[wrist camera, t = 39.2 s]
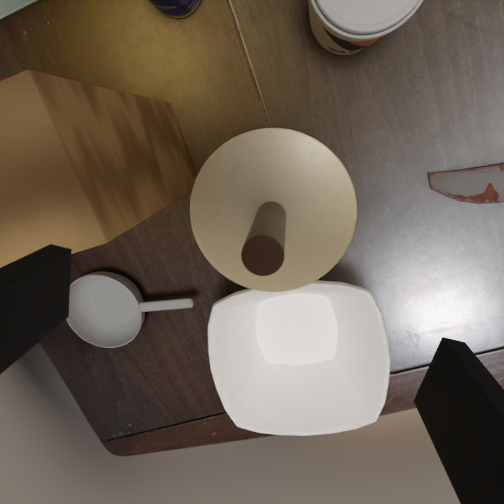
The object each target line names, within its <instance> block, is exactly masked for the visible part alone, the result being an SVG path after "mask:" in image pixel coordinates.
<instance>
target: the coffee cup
mask: <svg viewBox="0 0 504 504" xmlns="http://www.w3.org/2000/svg"><path fill="white" fill-rule="evenodd" d="M308 2H309V17H310V24H311V29H312V32H313V34H314V36H315V38H316V40H317V41H318V43H319V44H320V45H321V46H322V47H323V48H324V49H326V50H327V51H329V52H331V53H334V54H338V55H349V54H353V53H356V52H359V51H361V50H363V49H365V48H366V47H368V46H369V45H371V44H372V43H374V42H375V41H377V40H379V39H380V38H381V37H383V36H384V35H386V34H388V33H390V32H392V31H393V30H395V29H397V28H398V27H400V26H401V25H402V24H404V23H405V22H406V21H407V20H408V19H409V18H410V17H411V16H412V15H413V14H414V13H415V11H416V10H417V9H418V8H419V6H420V5H421V3H422V2H423V0H308Z"/></svg>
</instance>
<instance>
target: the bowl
mask: <svg viewBox="0 0 504 504" xmlns="http://www.w3.org/2000/svg"><path fill="white" fill-rule="evenodd" d="M208 352H209V360H210V368H211V372H212V376H213V379H214V382H215V386H216V389H217V392H218V394H219V396H220V399H221V401H222V404H223V406H224V409H225V410H226V412H227V413H228V415H229V416H230V418H231V419H232V420H233V422H234V423H235V425H236V426H237V427H240V428H243V429H247V430H251V431H254V432H258V433H266V434H275V435H301V436H307V435H319V434H329V433H337V432H343V431H348V430H353V429H357V428H360V427H362V426H365V425H368V424H371V423H374V422H375V421H376V420H377V419H378V417H379V414H380V412H381V410H382V408H383V406H384V404H385V401H386V395H387V390H388V384H389V374H390V351H389V343H388V336H387V332H386V327H385V323H384V319H383V315H382V312H381V310H380V308H379V306H378V304H377V302H376V300H375V298H374V297H373V295H372V293H371V292H370V291H369V290H368V289H366V288H363V287H359V286H355V285H352V284H348V283H344V282H335V281H321V280H316V281H314V282H312V283H310V284H308V285H306V286H304V287H300V288H297V289H294V290H289V291H281V292H265V291H259V290H253V289H250V288H248V289H244V290H241V291H237V292H234V293H232V294H230V295H228V296H226V297H224V298H222V299H220V300H218V301H217V302H215V303H214V304H213V306H212V310H211V314H210V318H209V322H208Z"/></svg>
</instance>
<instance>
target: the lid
mask: <svg viewBox="0 0 504 504" xmlns="http://www.w3.org/2000/svg"><path fill="white" fill-rule="evenodd" d="M356 218H357V201H356V195H355V190H354V187H353V184H352V181H351V179H350V176H349V174H348V172H347V170H346V169H345V167H344V166H343V164H342V163H341V161H340V160H339V159H338V158H337V156H336V155H335V154H334V153H333V152H332V151H331V150H330V149H329V148H327V147H326V146H325V145H324V144H322V143H321V142H319V141H318V140H316V139H315V138H313V137H311V136H308V135H306V134H304V133H301V132H298V131H294V130H291V129H284V128H262V129H255V130H252V131H248V132H245V133H242V134H240V135H238V136H235V137H233V138H232V139H230V140H228V141H227V142H225V143H224V144H223V145H221V146H220V147H219V148H218V149H216V150H215V151H214V152H213V153H212V155H211V156H210V157H209V158H208V159H207V160H206V162H205V163H204V165H203V166H202V168H201V169H200V171H199V173H198V175H197V177H196V180H195V183H194V185H193V189H192V193H191V199H190V220H191V226H192V230H193V233H194V237H195V239H196V242H197V244H198V246H199V248H200V250H201V251H202V253H203V255H204V256H205V257H206V259H207V260H208V261H209V262H210V264H211V265H212V266H213V267H214V268H215V269H216V270H217V271H218V272H220V273H221V274H222V275H224V276H225V277H226V278H228V279H230V280H231V281H233V282H235V283H237V284H239V285H241V286H244V287H247V288H250V289H253V290H259V291H265V292H281V291H289V290H294V289H297V288H300V287H304V286H306V285H308V284H310V283H312V282H314V281H316V280H318V279H319V278H321V277H322V276H324V275H325V274H326V273H327V272H329V271H330V270H331V269H332V268H333V267H334V266H335V265H336V264H337V263H338V262H339V260H340V259H341V257H342V256H343V255H344V253H345V251H346V250H347V248H348V246H349V244H350V242H351V239H352V236H353V233H354V229H355V225H356Z"/></svg>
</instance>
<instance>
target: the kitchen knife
mask: <svg viewBox="0 0 504 504" xmlns="http://www.w3.org/2000/svg"><path fill="white" fill-rule="evenodd" d="M428 174H429V180H430V186H431V189H433V190H435V191H437V192H439V193H441V194H443V195H445V196H448V197H450V198H453V199H455V200H458V201H462V202H470V203H478V204H479V203H500V202H504V164H497V165H490V166H483V167H477V168H470V169H463V170H456V171H447V172H435V173H428Z"/></svg>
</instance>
